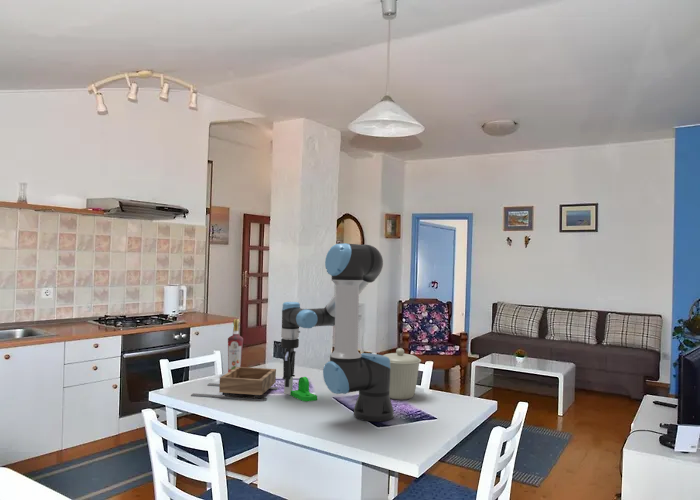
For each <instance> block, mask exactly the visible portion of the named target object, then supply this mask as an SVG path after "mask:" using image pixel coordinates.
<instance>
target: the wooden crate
mask: <svg viewBox="0 0 700 500" xmlns="http://www.w3.org/2000/svg"><path fill="white" fill-rule="evenodd" d="M276 376H277V369H276V368H266V367H265V368H264V367H263V368H262V367H248V366H247V367H246V366H241V367H236V368H235V369H233V370H231V371H230V372H228V371H227V373H225V374H224V375H222V376H220V377H219V384H220V386H218V387H219V388H218V389H219V393H222V394H223V395H225V396H230V394H239V395H253V397H255V398H260V397H261V396H262V395H264V393H266V392H267V391H268V390H270V389H269V388H270V387H273V385H275V383H277V382H276V379H277V377H276Z"/></svg>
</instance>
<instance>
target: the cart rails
mask: <svg viewBox="0 0 700 500" xmlns="http://www.w3.org/2000/svg"><path fill="white" fill-rule="evenodd" d="M207 386H208V387H209V386H211V387H220V383H211V382H210V383H208V384H207ZM268 390H270V391H271V390H273V391H277V390H279V387H277V386H276V387H275V386H271V387H270V388H269V389H268ZM190 396H191V397H198V398H199V397H200V398H201V397H202V398H215V399H216V398H217V399H228V400H229V399H231V400H232V399H233V400H243V401H244V400H247V401H259V402H260V401H264V402H266V401H267V400H268V397H258V398H255V397H254V396H243V395H242V396H240V395H239V396H238V395H228V396H225V395H224V394H209V393H192V394H190Z"/></svg>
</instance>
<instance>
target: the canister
mask: <svg viewBox="0 0 700 500" xmlns="http://www.w3.org/2000/svg"><path fill="white" fill-rule="evenodd" d="M382 355H383V356H386V357H388V358H389V359H390V367H391V369H390V393H389V396H390V400H391V399H392V400H398V401H401V400H403V401H404V400H409V399H412V398H413V397H414V396H415V393H416V389H417V382H418V375H419V368H420V364H421V362H422V359H420V358H419V357H418V356H416V355H413V354H409V353H405V350H404V349H403V348H402V347H400V348H399V347H398V348H397V349H396V351H395V352H391V353H385V354H382Z"/></svg>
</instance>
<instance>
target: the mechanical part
mask: <svg viewBox="0 0 700 500" xmlns="http://www.w3.org/2000/svg"><path fill="white" fill-rule="evenodd" d="M297 385H298V387H297V390H292V391H291V394H290V397H293V398H295V399H297V400H299V401H302V402H313V401H317V400H318V395H316V394H314V393H311V392H310V381H309V379H308V377H307V376H301V377H299V378H298V384H297Z"/></svg>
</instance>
